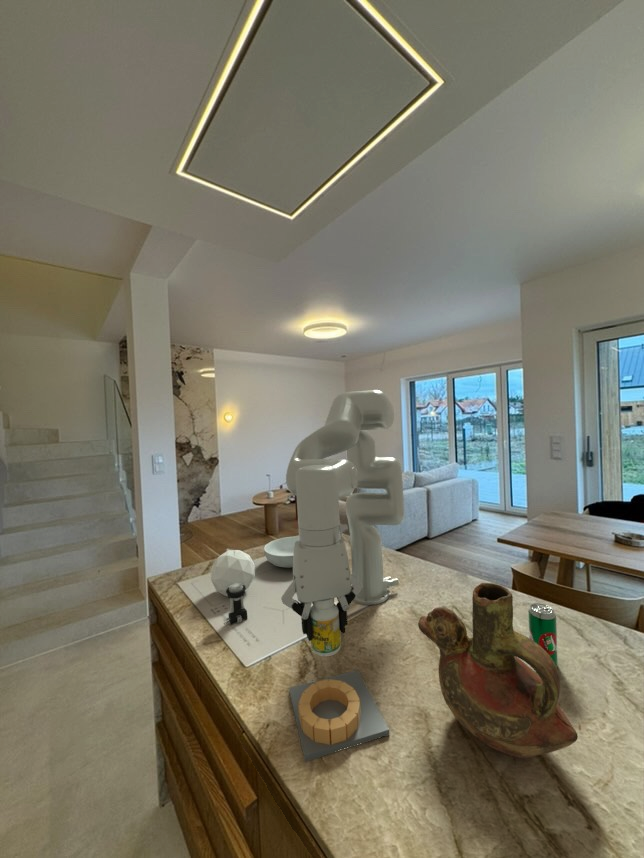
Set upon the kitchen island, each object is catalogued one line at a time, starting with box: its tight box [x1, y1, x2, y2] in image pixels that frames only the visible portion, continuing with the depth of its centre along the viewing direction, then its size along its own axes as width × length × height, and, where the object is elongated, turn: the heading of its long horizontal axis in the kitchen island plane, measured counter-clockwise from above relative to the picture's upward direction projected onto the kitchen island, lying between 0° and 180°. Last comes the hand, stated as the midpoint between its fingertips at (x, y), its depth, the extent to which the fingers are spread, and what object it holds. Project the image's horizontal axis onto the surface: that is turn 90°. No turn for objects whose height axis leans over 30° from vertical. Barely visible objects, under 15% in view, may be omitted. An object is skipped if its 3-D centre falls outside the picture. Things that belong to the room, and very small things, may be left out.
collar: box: [298, 679, 361, 745], centre depth 64 cm, size 11×11×2 cm
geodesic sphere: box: [210, 547, 256, 597], centre depth 114 cm, size 15×14×14 cm
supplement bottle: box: [309, 598, 342, 657], centre depth 63 cm, size 5×5×10 cm
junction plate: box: [288, 669, 391, 762], centre depth 66 cm, size 15×15×1 cm
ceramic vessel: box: [417, 582, 578, 759], centre depth 61 cm, size 17×26×25 cm, turn 45°
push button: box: [223, 582, 248, 625], centre depth 97 cm, size 7×5×10 cm
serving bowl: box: [263, 536, 299, 568], centre depth 135 cm, size 21×21×7 cm
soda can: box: [528, 602, 559, 667], centre depth 75 cm, size 5×5×12 cm
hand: (325, 631), depth 63 cm, fingers closed on supplement bottle, 5 cm apart
